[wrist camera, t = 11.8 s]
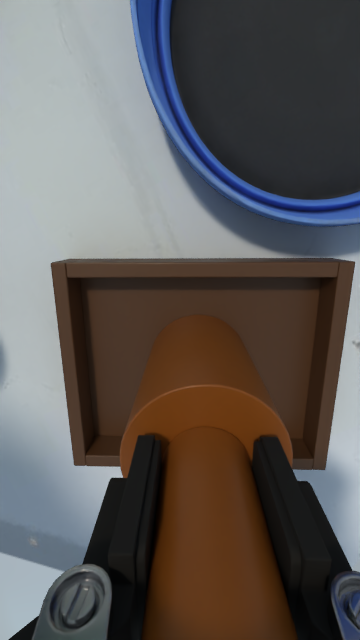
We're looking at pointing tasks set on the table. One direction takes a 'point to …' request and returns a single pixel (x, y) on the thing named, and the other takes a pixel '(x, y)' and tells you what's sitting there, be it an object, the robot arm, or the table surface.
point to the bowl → (261, 99)
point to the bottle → (208, 488)
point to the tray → (212, 300)
